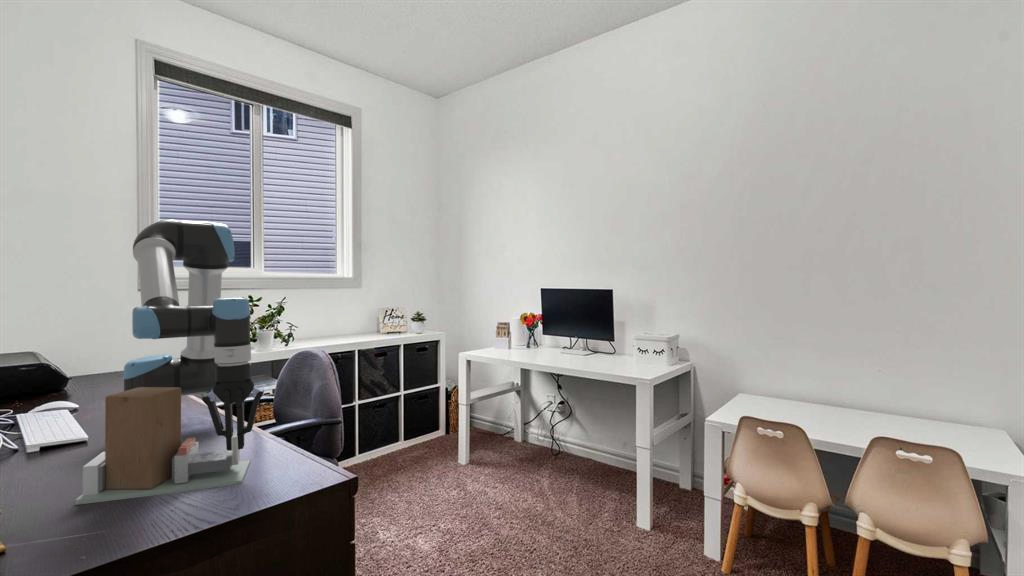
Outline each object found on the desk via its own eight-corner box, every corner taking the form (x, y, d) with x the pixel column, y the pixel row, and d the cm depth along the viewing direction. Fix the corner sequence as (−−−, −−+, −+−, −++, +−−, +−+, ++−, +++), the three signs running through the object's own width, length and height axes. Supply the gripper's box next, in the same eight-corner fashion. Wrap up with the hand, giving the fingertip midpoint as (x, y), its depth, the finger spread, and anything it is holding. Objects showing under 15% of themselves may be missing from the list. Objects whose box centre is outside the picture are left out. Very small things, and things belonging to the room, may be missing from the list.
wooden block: (151, 490, 107) (151, 396, 106) (103, 490, 106) (104, 396, 106) (181, 472, 117) (182, 386, 116) (138, 472, 116) (138, 386, 116)
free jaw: (183, 468, 119) (183, 437, 118) (236, 462, 122) (236, 432, 122) (171, 484, 109) (171, 450, 109) (229, 477, 113) (229, 444, 113)
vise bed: (103, 479, 115) (103, 449, 115) (250, 464, 125) (250, 436, 125) (75, 504, 102) (75, 470, 102) (241, 484, 112) (241, 453, 112)
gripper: (198, 368, 112) (201, 473, 112) (261, 363, 117) (264, 464, 117) (205, 363, 119) (208, 461, 119) (264, 359, 124) (267, 454, 124)
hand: (236, 463), depth 118 cm, fingers closed
